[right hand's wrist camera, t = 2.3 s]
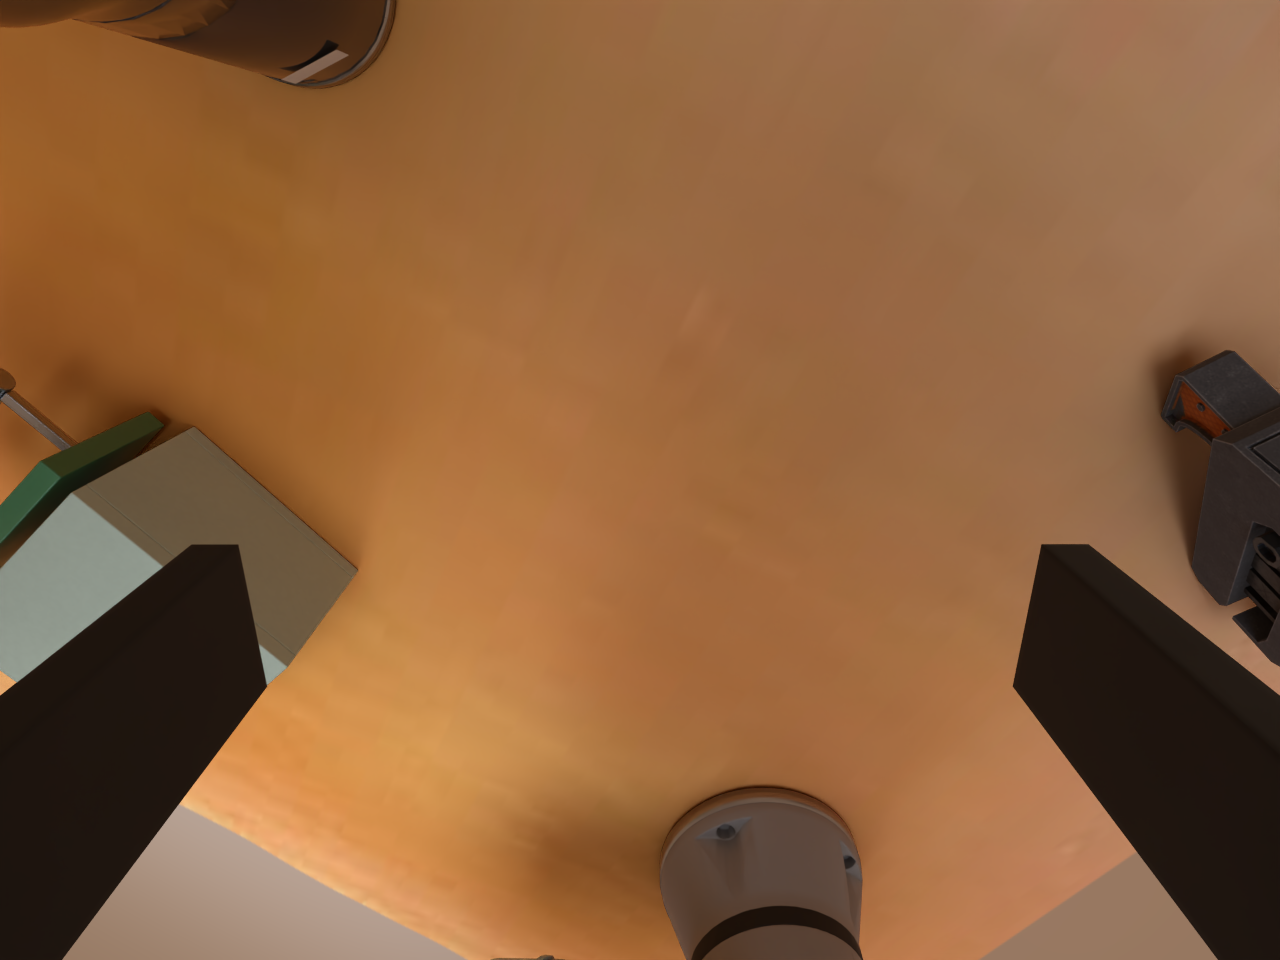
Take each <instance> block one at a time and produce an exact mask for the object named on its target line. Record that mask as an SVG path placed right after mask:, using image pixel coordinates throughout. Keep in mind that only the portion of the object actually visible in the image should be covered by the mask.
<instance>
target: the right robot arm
mask: <svg viewBox="0 0 1280 960" xmlns="http://www.w3.org/2000/svg"><path fill="white" fill-rule="evenodd" d="M266 687H267V683H266V678H265V673H264V668H263V663H262V658H261V653H260V648H259V643H258V638H257V633H256V629H255V624H254V619H253V614H252V609H251V604H250V599H249V594H248V589H247V584H246V579H245V574H244V569H243V565H242V560H241V555H240V550H239V545H238V544H191V545H190V546H189V547H188V548H186V549H185V550H184V551H183V552H181V553H180V554H179V555H178V556H176V557H175V558H174V559H172V560H171V561H170V562H169V563H167V564H166V565H165V566H164V567H162V568H161V569H160V570H159V571H157V572H156V573H155V574H153V575H152V576H151V577H150V578H148V579H147V580H146V581H145V582H143V583H142V584H141V585H140V586H138V587H137V588H136V589H135V590H133V591H132V592H131V593H129V594H128V595H127V596H126V597H124V598H123V599H122V600H121V601H119V602H118V603H117V604H116V605H114V606H113V607H112V608H110V609H109V610H108V611H107V612H105V613H104V614H103V615H102V616H100V617H99V618H98V619H97V620H95V621H94V622H93V623H92V624H90V625H89V626H88V627H86V628H85V629H84V630H83V631H81V632H80V633H79V634H78V635H76V636H75V637H74V638H73V639H71V640H70V641H69V642H67V643H66V644H65V645H64V646H62V647H61V648H60V649H59V650H57V651H56V652H55V653H54V654H52V655H51V656H50V657H49V658H47V659H46V660H45V661H43V662H42V663H41V664H40V665H38V666H37V667H36V668H35V669H33V670H32V671H31V672H30V673H28V674H27V675H26V676H24V677H23V678H22V679H21V680H19V681H18V682H17V683H16V684H14V685H13V686H12V687H11V688H9V689H8V690H7V691H6V692H4V693H3V694H2V695H0V960H62V959H63V958H64V956H65V955H66V954H67V952H68V951H69V950H70V948H71V947H72V946H73V944H74V943H75V942H76V940H77V939H78V938H79V936H80V935H81V934H82V932H83V931H84V930H85V928H86V927H87V926H88V924H89V923H90V922H91V920H92V919H93V918H94V916H95V915H96V914H97V912H98V911H99V910H100V908H101V907H102V906H103V904H104V903H105V902H106V900H107V899H108V898H109V896H110V895H111V894H112V892H113V891H114V890H115V888H116V887H117V886H118V884H119V883H120V882H121V880H122V879H123V878H124V876H125V875H126V874H127V872H128V871H129V870H130V868H131V867H132V866H133V864H134V863H135V862H136V860H137V859H138V858H139V856H140V855H141V854H142V852H143V851H144V850H145V848H146V847H147V846H148V844H149V843H150V842H151V840H152V839H153V838H154V836H155V835H156V834H157V832H158V831H159V830H160V828H161V827H162V826H163V824H164V823H165V822H166V820H167V819H168V818H169V816H170V815H171V814H172V812H173V811H174V810H175V808H176V807H177V806H178V804H179V803H180V802H181V801H182V799H183V798H184V797H185V795H186V794H187V793H188V791H189V790H190V789H191V787H192V786H193V785H194V783H195V782H196V781H197V779H198V778H199V777H200V775H201V774H202V773H203V771H204V770H205V769H206V767H207V766H208V765H209V763H210V762H211V761H212V759H213V758H214V757H215V755H216V754H217V753H218V751H219V750H220V749H221V747H222V746H223V745H224V743H225V742H226V741H227V739H228V738H229V737H230V735H231V734H232V733H233V731H234V730H235V729H236V727H237V726H238V725H239V723H240V722H241V721H242V719H243V718H244V717H245V715H246V714H247V713H248V711H249V710H250V709H251V707H252V706H253V705H254V703H255V702H256V701H257V699H258V698H259V697H260V695H261V694H262V693H263V691H264V690H265V689H266ZM1013 687H1014V689H1015V690H1016V691H1017V693H1018V694H1019V695H1020V697H1021V698H1022V699H1023V701H1024V702H1025V703H1026V705H1027V706H1028V707H1029V709H1030V710H1031V711H1032V713H1033V714H1034V715H1035V717H1036V718H1037V719H1038V721H1039V722H1040V723H1041V725H1042V726H1043V727H1044V729H1045V730H1046V731H1047V733H1048V734H1049V735H1050V737H1051V738H1052V739H1053V741H1054V742H1055V743H1056V745H1057V746H1058V747H1059V749H1060V750H1061V751H1062V753H1063V754H1064V755H1065V757H1066V758H1067V759H1068V761H1069V762H1070V763H1071V765H1072V766H1073V767H1074V769H1075V770H1076V771H1077V773H1078V774H1079V775H1080V777H1081V778H1082V779H1083V781H1084V782H1085V783H1086V785H1087V786H1088V787H1089V789H1090V790H1091V791H1092V793H1093V794H1094V795H1095V797H1096V798H1097V799H1098V801H1099V802H1100V803H1101V805H1102V806H1103V807H1104V808H1105V810H1106V811H1107V812H1108V814H1109V815H1110V816H1111V818H1112V819H1113V820H1114V822H1115V823H1116V824H1117V826H1118V827H1119V828H1120V830H1121V831H1122V832H1123V834H1124V835H1125V836H1126V838H1127V839H1128V840H1129V842H1130V843H1131V844H1132V846H1133V847H1134V848H1135V850H1136V851H1137V852H1138V854H1139V855H1140V856H1141V858H1142V859H1143V860H1144V862H1145V863H1146V864H1147V866H1148V867H1149V868H1150V870H1151V871H1152V872H1153V874H1154V875H1155V876H1156V878H1157V879H1158V880H1159V882H1160V883H1161V884H1162V886H1163V887H1164V888H1165V890H1166V891H1167V892H1168V894H1169V895H1170V896H1171V898H1172V899H1173V900H1174V902H1175V903H1176V904H1177V906H1178V907H1179V908H1180V910H1181V911H1182V912H1183V914H1184V915H1185V916H1186V918H1187V919H1188V920H1189V922H1190V923H1191V924H1192V926H1193V927H1194V928H1195V930H1196V931H1197V932H1198V934H1199V935H1200V936H1201V938H1202V939H1203V940H1204V942H1205V943H1206V944H1207V946H1208V947H1209V948H1210V950H1211V951H1212V952H1213V954H1214V955H1215V956H1216V958H1217V959H1218V960H1280V695H1278V694H1277V693H1276V692H1274V691H1273V690H1272V689H1271V688H1269V687H1268V686H1267V685H1266V684H1264V683H1263V682H1262V681H1261V680H1259V679H1258V678H1257V677H1256V676H1254V675H1253V674H1252V673H1250V672H1249V671H1248V670H1247V669H1245V668H1244V667H1243V666H1242V665H1240V664H1239V663H1238V662H1237V661H1235V660H1234V659H1233V658H1231V657H1230V656H1229V655H1228V654H1226V653H1225V652H1224V651H1223V650H1221V649H1220V648H1219V647H1218V646H1216V645H1215V644H1214V643H1213V642H1211V641H1210V640H1209V639H1207V638H1206V637H1205V636H1204V635H1202V634H1201V633H1200V632H1199V631H1197V630H1196V629H1195V628H1194V627H1192V626H1191V625H1190V624H1188V623H1187V622H1186V621H1185V620H1183V619H1182V618H1181V617H1180V616H1178V615H1177V614H1176V613H1175V612H1173V611H1172V610H1171V609H1170V608H1168V607H1167V606H1166V605H1164V604H1163V603H1162V602H1161V601H1159V600H1158V599H1157V598H1156V597H1154V596H1153V595H1152V594H1151V593H1149V592H1148V591H1147V590H1145V589H1144V588H1143V587H1142V586H1140V585H1139V584H1138V583H1137V582H1135V581H1134V580H1133V579H1132V578H1130V577H1129V576H1128V575H1127V574H1125V573H1124V572H1123V571H1121V570H1120V569H1119V568H1118V567H1116V566H1115V565H1114V564H1113V563H1111V562H1110V561H1109V560H1108V559H1106V558H1105V557H1104V556H1102V555H1101V554H1100V553H1099V552H1097V551H1096V550H1095V549H1094V548H1092V547H1091V546H1090V545H1089V544H1042V545H1041V550H1040V555H1039V560H1038V564H1037V569H1036V574H1035V579H1034V584H1033V589H1032V594H1031V599H1030V604H1029V609H1028V614H1027V619H1026V624H1025V629H1024V633H1023V638H1022V643H1021V648H1020V653H1019V658H1018V663H1017V668H1016V673H1015V678H1014V683H1013ZM660 888H661V894H662V897H663V902H664V906H665V909H666V911H667V914H668V916H669V918H670V920H671V923H672V925H673V928H674V931H675V933H676V936H677V938H678V941H679V943H680V946H681V948H682V950H683V953H684V955H685V958H686V960H863V958H862V954H861V950H860V947H859V934H860V916H861V899H862V871H861V863H860V858H859V855H858V852H857V849H856V845H855V842H854V839H853V837H852V835H851V832H850V830H849V829H848V827H847V825H846V824H845V823H844V822H843V820H842V819H841V818H840V817H839V816H838V815H837V814H836V813H835V812H834V811H833V810H831V809H830V808H829V807H828V806H826V805H825V804H823V803H821V802H820V801H818V800H816V799H814V798H812V797H809V796H807V795H804V794H801V793H798V792H794V791H790V790H785V789H778V788H749V789H742V790H736V791H732V792H728V793H725V794H722V795H719V796H716V797H714V798H712V799H709V800H707V801H705V802H704V803H702V804H700V805H698V806H697V807H695V808H694V809H692V810H691V811H690V812H688V813H687V814H686V815H685V816H684V817H683V818H682V819H680V820H679V821H678V823H677V824H676V825H675V826H674V827H673V829H672V830H671V832H670V833H669V835H668V837H667V839H666V840H665V843H664V845H663V848H662V851H661V856H660ZM492 960H563V959H554V957H553V956H552V955H543V956H540V957H539V958H537V959H524V958H496V959H492Z"/></svg>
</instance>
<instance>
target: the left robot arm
mask: <svg viewBox="0 0 1280 960" xmlns="http://www.w3.org/2000/svg"><path fill="white" fill-rule="evenodd" d="M394 11H395V0H0V27H5V28H21V27H33V26H41V25H46V24H51V23H56V22H60V21H64V20H68V19H74V20H77V21H80V22H84V23H87V24H91V25H94V26H98V27H101V28H105V29H108V30H111V31H115V32H118V33H122V34H125V35H129V36H132V37H135V38H139V39H142V40H146V41H149V42H153V43H156V44H159V45H163V46H166V47H170V48H173V49H177V50H180V51H184V52H187V53H190V54H194V55H197V56H201V57H204V58H208V59H211V60H214V61H218V62H221V63H225V64H228V65H232V66H235V67H239V68H242V69H245V70H249V71H252V72H256V73H259V74H262V75H265V76H267V77H270V78H272V79H275V80H277V81H280V82H283V83H287V84H290V85H294V86H298V87H303V88H327V87H333V86H336V85H340V84H342V83H345V82H347V81H349V80H351V79H353V78H355V77H356V76H358V75H359V74H361V73H362V72H363V71H364V70H365V69H367V68H368V67H369V66H370V65H371V64H372V62H373V61H374V60H375V59H376V58H377V56H378V55H379V53H380V52H381V50H382V48H383V47H384V45H385V43H386V40H387V38H388V36H389V33H390V30H391V27H392V22H393V18H394Z"/></svg>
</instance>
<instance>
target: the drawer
mask: <svg viewBox="0 0 1280 960" xmlns="http://www.w3.org/2000/svg"><path fill="white" fill-rule="evenodd" d="M15 385H16V382H15V379H14V378H13V376H12V375H11V374H10V373H8V372H7V371H6V370H4V369H2V368H0V404H1V402H3V403H4V404H6V405H7V406H8V407H9V408H11V409H12V410H13V411H14V412H15V413H17V414H18V415H19V416H20V417H21V418H23V419H24V420H25V421H26V422H28V423H29V424H30V425H31V426H32V427H34V428H35V429H36V430H37V431H38V432H40V433H41V434H42V435H43V436H45V437H46V438H47V439H48V440H49V441H51V442H52V443H53V444H54V445H56V446H57V447H58V448H59V449H60V450H62V451H61V452H59V453H57V454H54V455H52V456H50V457H48V458H46V459H44V460H41V461H40V462H39V463H38V464H37V465H36V466H35V467H34V468H33V469H32V471H31V472H30V473H29V474H28V475H27V476H26V477H25V478H24V479H23V481H22V482H21V483H20V484H19V485H18V486H17V487H16V488H15V489H14V491H13V492H12V493H11V494H10V495H9V496H8V497H7V498H6V499H5V501H4V502H3V503H2V504H1V505H0V569H1V567H2V566H3V565H4V564H5V563H6V562H7V561H8V560H9V559H10V558H11V557H12V556H13V555H14V553H15V552H16V551H17V550H18V549H19V548H20V547H21V546H22V545H23V544H24V543H25V542H26V541H27V540H28V538H29V537H30V536H31V535H32V534H33V533H34V532H35V531H36V530H37V529H38V528H39V527H40V526H41V524H42V523H43V522H44V521H45V520H46V519H47V518H48V517H49V516H50V515H51V514H52V513H53V512H54V511H55V509H56V508H57V507H58V506H59V505H60V504H61V503H62V502H63V501H64V500H65V499H66V498H67V497H68V495H69V494H70V493H72V492H73V491H75V490H77V489H79V488H81V487H83V486H85V485H86V484H88V483H90V482H92V481H94V480H96V479H98V478H99V477H101V476H103V475H105V474H107V473H109V472H111V471H112V470H114V469H116V468H118V467H120V466H122V465H123V464H125V463H127V462H129V461H131V460H132V459H133V458H134V457H135V456H136V455H137V454H138V453H139V452H140V451H141V450H142V449H143V448H144V447H145V446H146V445H147V444H148V442H149V441H150V440H151V439H152V438H153V437H154V436H155V435H156V434H157V433H158V432H159V431H160V430H161V429H162V428H163V427H164V425H163V424H162V423H161V422H160V421H159V420H158V419H157V418H155V417H154V416H153V415H152V414H151V413H150V412H146V413H144V414H142V415H139V416H137V417H135V418H133V419H131V420H129V421H126V422H124V423H122V424H120V425H118V426H115V427H113V428H111V429H109V430H107V431H105V432H102V433H100V434H98V435H96V436H94V437H91V438H89V439H87V440H85V441H83V442H81V443H77V442H76V441H74V440H73V439H72V438H71V437H70V436H68V435H67V434H66V433H65V432H64V431H62V430H61V429H60V428H59V427H58V426H56V425H55V424H54V423H53V422H52V421H50V420H49V419H48V418H47V417H46V416H44V415H43V414H42V413H41V412H39V411H38V410H37V409H36V408H35V407H33V406H32V405H31V404H30V403H29V402H27V401H26V400H25V399H24V398H23V397H21V396H20V395H19V394H18V393H17V392H15V391H12V390H13V388H14V387H15Z"/></svg>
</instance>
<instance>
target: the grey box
mask: <svg viewBox="0 0 1280 960" xmlns="http://www.w3.org/2000/svg"><path fill="white" fill-rule="evenodd" d="M191 544H238V545H239V550H240V555H241V560H242V565H243V569H244V574H245V579H246V584H247V589H248V594H249V599H250V604H251V609H252V614H253V619H254V624H255V629H256V633H257V638H258V643H259V648H260V653H261V658H262V663H263V668H264V673H265V678H266V683H267V685H268V684H269V683H270V682H271V681H273V680H274V679H275V678H276V677H277V676H278V675H279V674H281V673H282V672H283V671H284V670H285V669H286V668H287V667H288V666H289V665H290V663H291V662H292V660H293V659H294V658H295V656H296V655H297V654H298V652H299V651H300V650H301V648H302V647H303V645H304V644H305V643H306V641H307V640H308V639H309V637H310V636H311V635H312V633H313V632H314V630H315V629H316V628H317V626H318V625H319V624H320V622H321V621H322V620H323V618H324V617H325V615H326V614H327V613H328V611H329V610H330V609H331V607H332V606H333V605H334V603H335V602H336V600H337V599H338V598H339V596H340V595H341V594H342V592H343V591H344V590H345V588H346V587H347V585H348V584H349V583H350V581H351V580H352V578H353V577H354V576H355V575H356V573H357V572H358V570H357V569H356V568H355V567H354V566H353V565H352V564H350V563H349V562H348V561H347V560H346V559H345V558H344V557H342V556H341V555H340V554H339V553H338V552H337V551H336V550H334V549H333V548H332V547H331V546H330V545H329V544H328V543H326V542H325V541H324V540H323V539H322V538H321V537H320V536H318V535H317V534H316V533H315V532H314V531H313V530H312V529H311V528H309V527H308V526H307V525H306V524H305V523H304V522H303V521H301V520H300V519H299V518H298V517H297V516H296V515H295V514H293V513H292V512H291V511H290V510H289V509H288V508H287V507H285V506H284V505H283V504H282V503H281V502H280V501H279V500H278V499H276V498H275V497H274V496H273V495H272V494H271V493H270V492H268V491H267V490H266V489H265V488H264V487H263V486H262V485H260V484H259V483H258V482H257V481H256V480H255V479H254V478H252V477H251V476H250V475H249V474H248V473H247V472H246V471H244V470H243V469H242V468H241V467H240V466H239V465H238V464H237V463H235V462H234V461H233V460H232V459H231V458H230V457H229V456H227V455H226V454H225V453H224V452H223V451H222V450H221V449H219V448H218V447H217V446H216V445H215V444H214V443H213V442H211V441H210V440H209V439H208V438H207V437H206V436H205V435H204V434H202V433H201V432H200V431H199V430H198V429H197V428H196V427H192V428H190V429H188V430H187V431H185V432H183V433H181V434H179V435H177V436H175V437H174V438H172V439H170V440H168V441H166V442H164V443H162V444H161V445H159V446H157V447H155V448H153V449H151V450H149V451H148V452H146V453H144V454H142V455H140V456H138V457H136V458H135V459H133V460H131V461H129V462H127V463H125V464H123V465H122V466H120V467H118V468H116V469H114V470H112V471H111V472H109V473H107V474H105V475H103V476H101V477H99V478H98V479H96V480H94V481H92V482H90V483H88V484H86V485H85V486H83V487H81V488H79V489H77V490H75V491H73V492H72V493H70V494H69V495H68V497H67V498H66V499H65V500H64V501H63V502H62V503H61V504H60V505H59V506H58V507H57V508H56V509H55V511H54V512H53V513H52V514H51V515H50V516H49V517H48V518H47V519H46V520H45V521H44V522H43V523H42V524H41V526H40V527H39V528H38V529H37V530H36V531H35V532H34V533H33V534H32V535H31V536H30V537H29V538H28V540H27V541H26V542H25V543H24V544H23V545H22V546H21V547H20V548H19V549H18V550H17V551H16V552H15V553H14V555H13V556H12V557H11V558H10V559H9V560H8V561H7V562H6V563H5V564H4V565H3V566H2V567H1V569H0V671H2V672H3V673H4V674H6V675H7V676H9V677H10V678H11V679H13V680H14V681H16V682H18V681H19V680H21V679H22V678H23V677H24V676H26V675H27V674H28V673H30V672H31V671H32V670H33V669H35V668H36V667H37V666H38V665H40V664H41V663H42V662H43V661H45V660H46V659H47V658H49V657H50V656H51V655H52V654H54V653H55V652H56V651H57V650H59V649H60V648H61V647H62V646H64V645H65V644H66V643H67V642H69V641H70V640H71V639H73V638H74V637H75V636H76V635H78V634H79V633H80V632H81V631H83V630H84V629H85V628H86V627H88V626H89V625H90V624H92V623H93V622H94V621H95V620H97V619H98V618H99V617H100V616H102V615H103V614H104V613H105V612H107V611H108V610H109V609H110V608H112V607H113V606H114V605H116V604H117V603H118V602H119V601H121V600H122V599H123V598H124V597H126V596H127V595H128V594H129V593H131V592H132V591H133V590H135V589H136V588H137V587H138V586H140V585H141V584H142V583H143V582H145V581H146V580H147V579H148V578H150V577H151V576H152V575H153V574H155V573H156V572H157V571H159V570H160V569H161V568H162V567H164V566H165V565H166V564H167V563H169V562H170V561H171V560H172V559H174V558H175V557H176V556H178V555H179V554H180V553H181V552H183V551H184V550H185V549H186V548H188V547H189V546H190V545H191Z"/></svg>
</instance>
